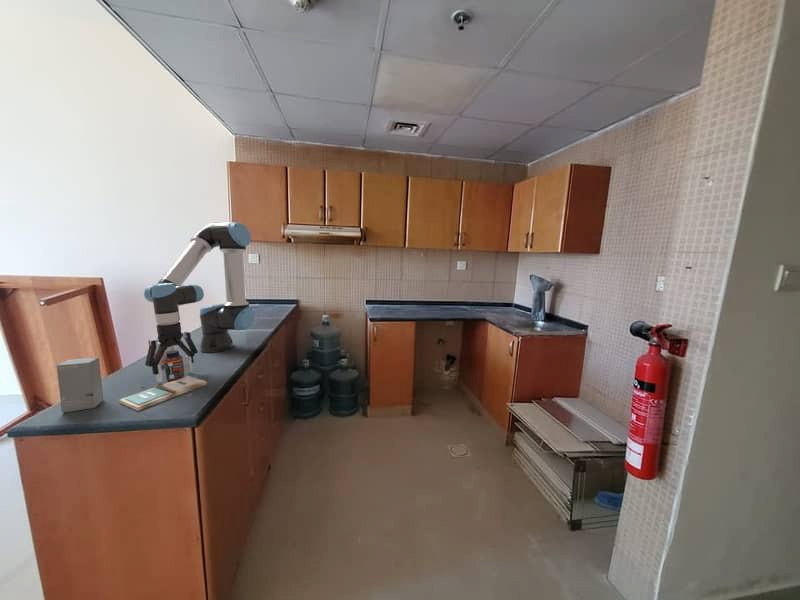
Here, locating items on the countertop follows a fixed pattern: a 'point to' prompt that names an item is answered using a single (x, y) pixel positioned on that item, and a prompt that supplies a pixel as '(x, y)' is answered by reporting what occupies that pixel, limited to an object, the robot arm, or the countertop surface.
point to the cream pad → (181, 383)
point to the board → (163, 398)
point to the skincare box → (80, 384)
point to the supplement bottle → (174, 365)
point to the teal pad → (147, 396)
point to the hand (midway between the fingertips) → (175, 376)
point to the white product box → (163, 354)
